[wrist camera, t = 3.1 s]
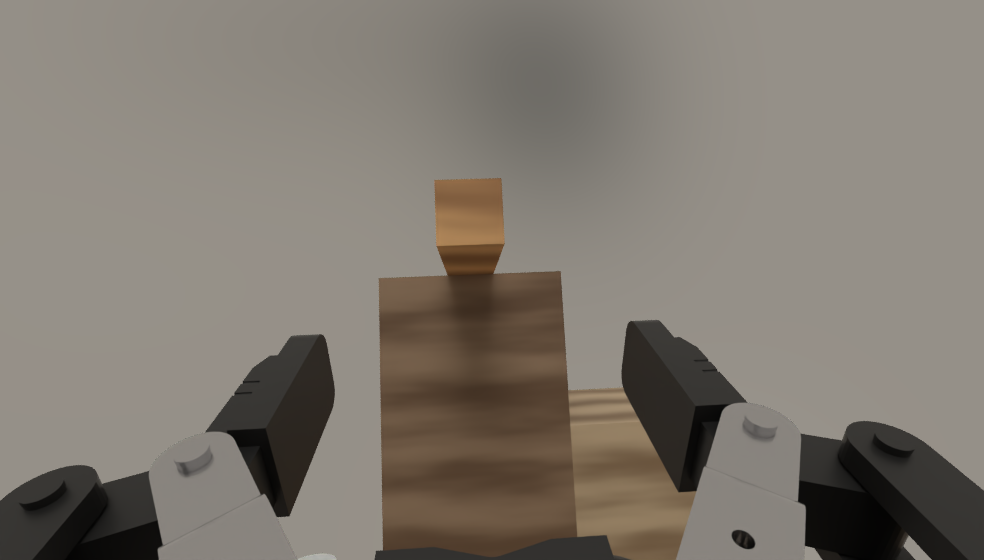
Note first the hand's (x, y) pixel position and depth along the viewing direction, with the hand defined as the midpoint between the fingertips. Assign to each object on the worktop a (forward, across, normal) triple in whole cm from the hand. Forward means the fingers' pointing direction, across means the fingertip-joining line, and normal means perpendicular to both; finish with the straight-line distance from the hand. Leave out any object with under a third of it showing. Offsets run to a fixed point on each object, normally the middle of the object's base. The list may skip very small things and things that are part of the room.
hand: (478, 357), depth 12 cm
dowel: (+20, 0, +6) cm, 21 cm away
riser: (+9, -6, +37) cm, 38 cm away
